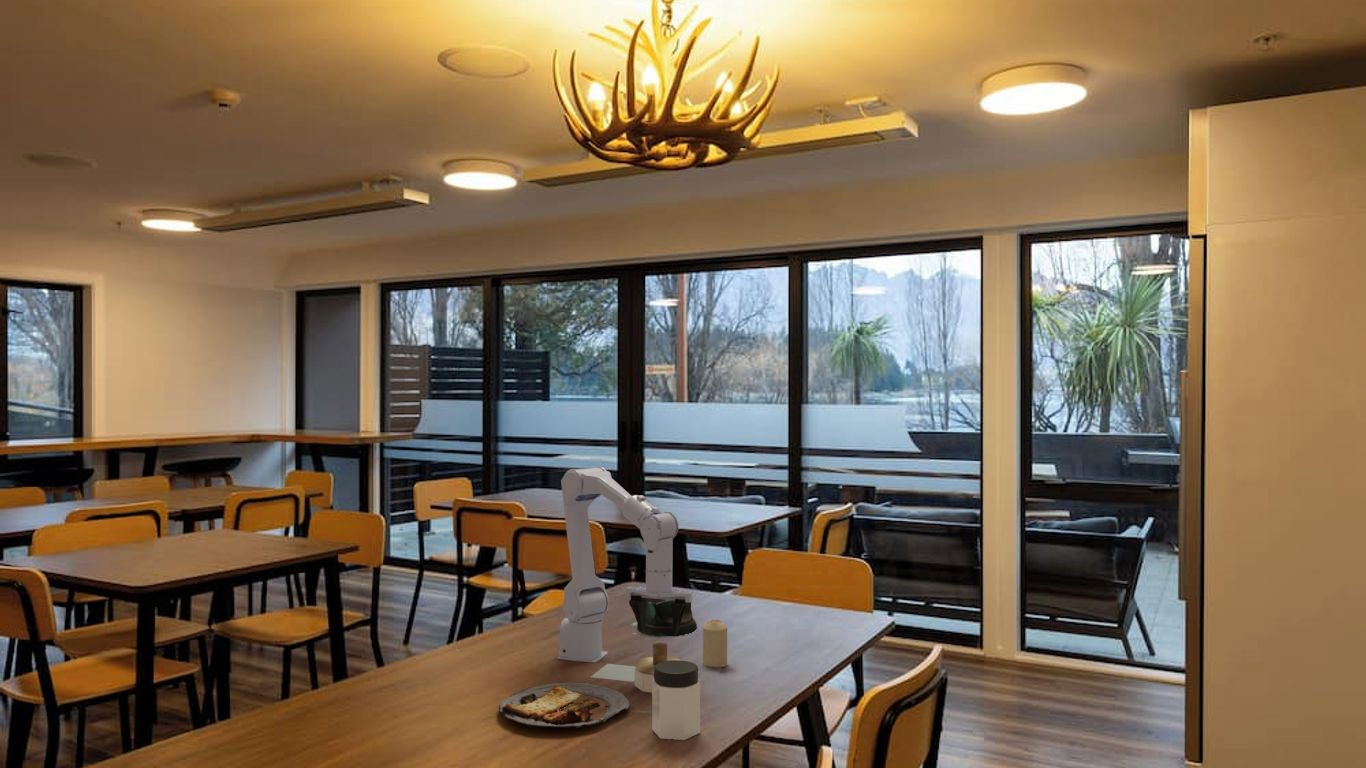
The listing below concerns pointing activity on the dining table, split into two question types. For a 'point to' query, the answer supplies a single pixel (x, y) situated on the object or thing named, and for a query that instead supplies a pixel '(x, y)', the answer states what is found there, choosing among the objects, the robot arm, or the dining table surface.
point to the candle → (715, 644)
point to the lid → (653, 659)
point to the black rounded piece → (665, 619)
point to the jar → (676, 700)
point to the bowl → (643, 681)
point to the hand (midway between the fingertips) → (658, 632)
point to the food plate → (561, 705)
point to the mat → (616, 673)
